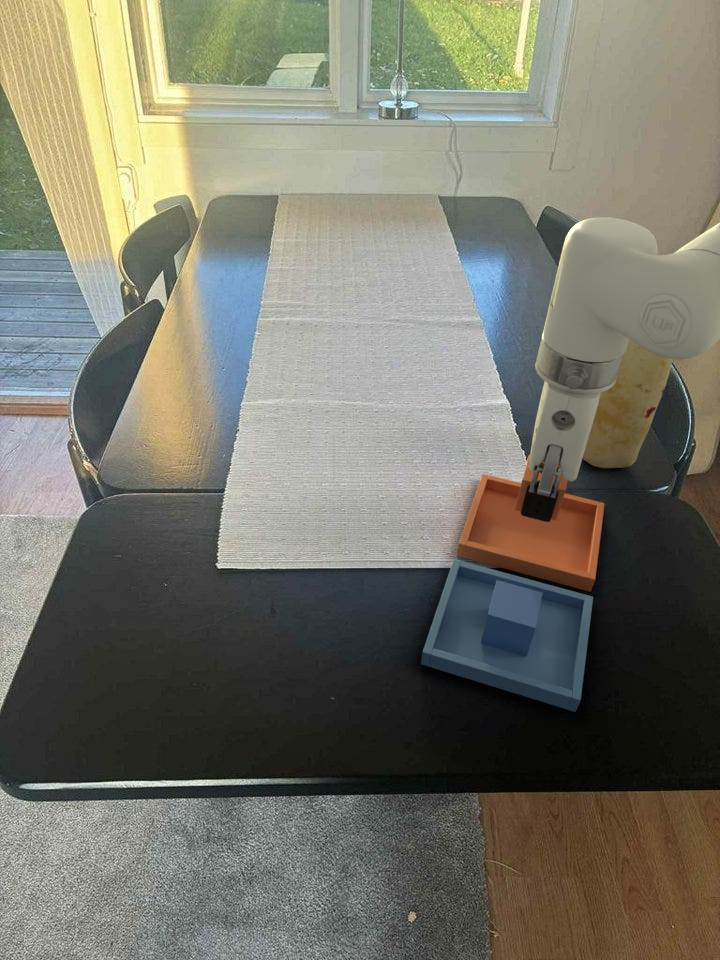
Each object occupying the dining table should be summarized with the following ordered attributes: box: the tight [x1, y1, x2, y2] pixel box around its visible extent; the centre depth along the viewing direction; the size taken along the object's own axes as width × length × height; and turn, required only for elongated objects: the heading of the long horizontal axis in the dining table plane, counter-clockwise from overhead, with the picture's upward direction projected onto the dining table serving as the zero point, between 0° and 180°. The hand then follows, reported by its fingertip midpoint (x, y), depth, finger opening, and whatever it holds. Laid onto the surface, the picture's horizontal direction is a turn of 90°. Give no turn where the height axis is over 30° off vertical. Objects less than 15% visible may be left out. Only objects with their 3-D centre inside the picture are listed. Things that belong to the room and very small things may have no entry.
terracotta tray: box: [456, 473, 605, 593], centre depth 80 cm, size 15×13×2 cm
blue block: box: [481, 580, 543, 656], centre depth 68 cm, size 4×4×4 cm
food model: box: [582, 340, 674, 469], centre depth 85 cm, size 10×7×20 cm
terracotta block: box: [515, 454, 568, 521], centre depth 76 cm, size 4×4×4 cm
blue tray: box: [420, 558, 594, 713], centre depth 69 cm, size 15×13×2 cm
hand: (539, 500), depth 77 cm, fingers closed on terracotta block, 4 cm apart
